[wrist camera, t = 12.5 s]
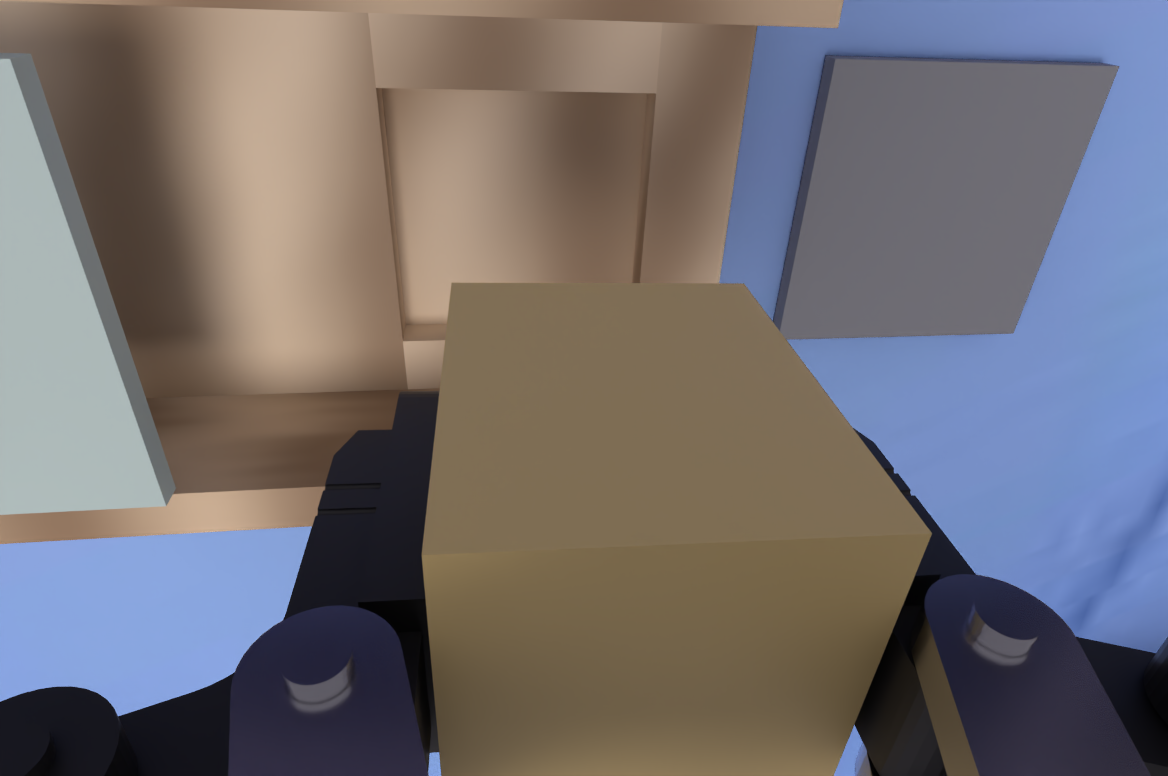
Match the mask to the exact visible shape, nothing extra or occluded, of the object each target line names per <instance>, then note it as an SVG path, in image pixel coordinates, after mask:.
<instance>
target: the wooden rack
mask: <svg viewBox="0 0 1168 776" xmlns="http://www.w3.org/2000/svg"><path fill="white" fill-rule="evenodd" d="M842 5H843V0H0V53H28V54H31V56H32V59H33V62H34V65H35V68H36V71H37V74H38V77H39V80H40V83H41V86H42V89H43V92H44V95H45V98H46V101H47V104H48V107H49V110H50V113H51V116H52V119H53V122H54V125H55V128H56V131H57V133H58V136H59V139H60V142H61V145H62V148H63V151H64V154H65V157H66V160H67V163H68V166H69V169H70V172H71V175H72V178H73V181H74V184H75V187H76V190H77V193H78V196H79V199H80V202H81V205H82V208H83V211H84V214H85V217H86V220H87V223H88V226H89V229H90V232H91V235H92V238H93V241H94V244H95V247H96V250H97V253H98V256H99V259H100V262H101V265H102V268H103V271H104V274H105V277H106V280H107V283H108V286H109V289H110V292H111V295H112V298H113V301H114V304H115V307H116V310H117V313H118V316H119V319H120V322H121V325H122V328H123V331H124V334H125V337H126V340H127V343H128V346H129V349H130V352H131V355H132V358H133V361H134V364H135V367H136V370H137V373H138V376H139V379H140V382H141V385H142V388H143V391H144V394H145V397H146V400H147V403H148V406H149V409H150V412H151V415H152V418H153V421H154V424H155V427H156V430H157V433H158V436H159V439H160V442H161V445H162V448H163V451H164V454H165V457H166V460H167V463H168V466H169V469H170V472H171V475H172V478H173V481H174V484H175V487H176V489H175V491H174V493H173V495H172V497H171V498H170V500H169V502H168V504H167V506H162V507H143V508H124V509H105V510H85V511H66V512H47V513H28V514H9V515H0V544H7V543H25V542H42V541H60V540H77V539H95V538H112V537H130V536H147V535H165V534H182V533H200V532H217V531H235V530H253V529H270V528H288V527H305V526H313V522H314V519H315V516H317V514H318V510H317V509H318V506H319V502H320V499H321V496H322V492H323V490H325V483H326V479H327V476H328V473H329V469H330V466H331V463H332V459H333V456H334V455H335V453H336V452H337V451H338V450H339V449H340V448H341V447H342V446H343V445H344V444H345V443H346V442H347V441H348V440H349V439H350V438H351V437H352V436H353V435H354V434H355V433H356V432H357V431H358V430H392V427H393V421H394V416H395V411H396V406H397V401H398V397H399V393H400V392H401V391H440V383H441V373H442V364H443V355H444V346H445V337H446V328H447V319H448V310H449V300H450V291H451V283H719V280H720V273H721V266H722V260H723V253H724V246H725V239H726V233H727V226H728V219H729V213H730V206H731V199H732V192H733V186H734V179H735V172H736V166H737V159H738V152H739V145H740V139H741V132H742V125H743V119H744V112H745V105H746V98H747V92H748V85H749V78H750V72H751V65H752V58H753V51H754V45H755V38H756V31H757V26H788V27H818V28H838V25H839V20H840V15H841V10H842Z"/></svg>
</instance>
